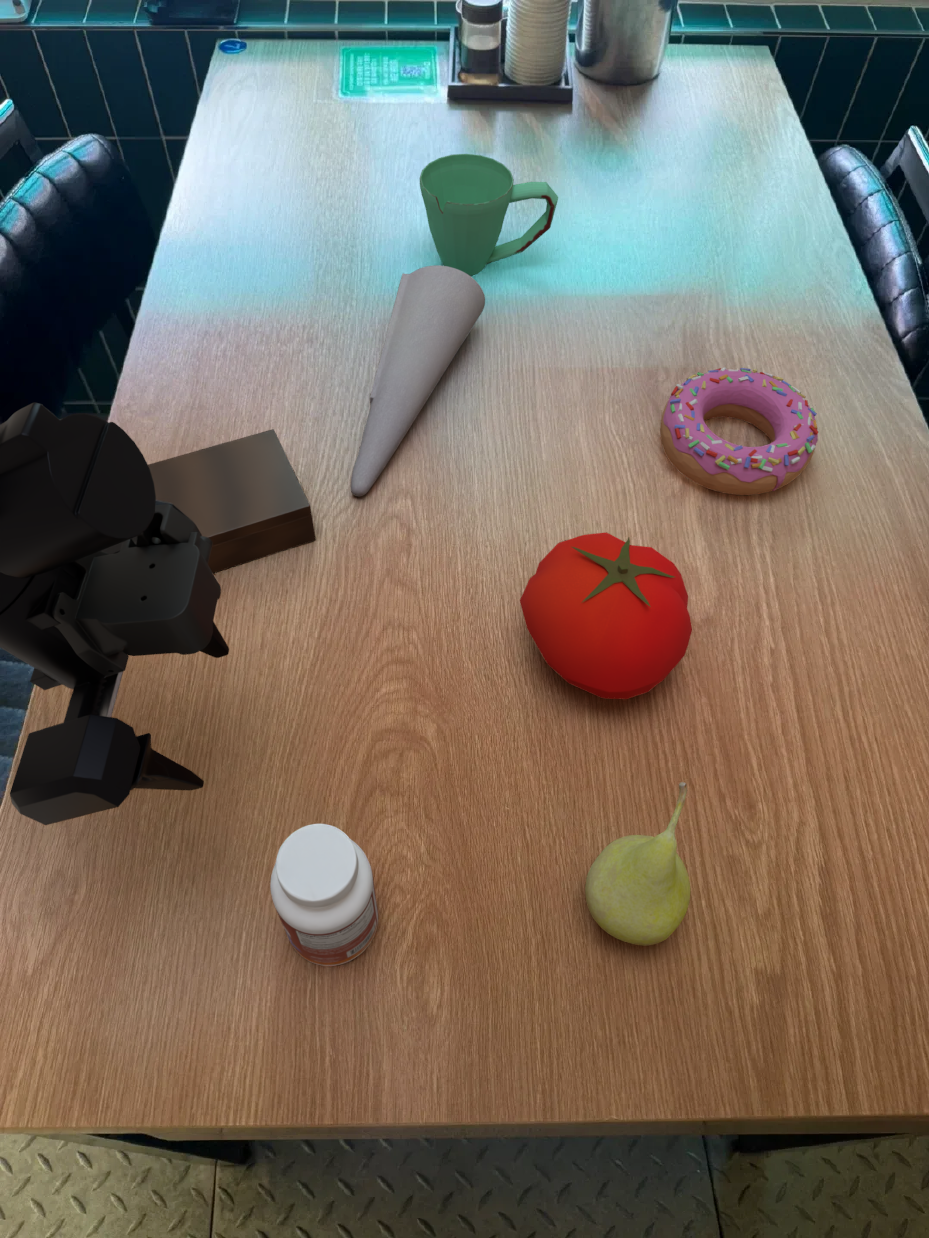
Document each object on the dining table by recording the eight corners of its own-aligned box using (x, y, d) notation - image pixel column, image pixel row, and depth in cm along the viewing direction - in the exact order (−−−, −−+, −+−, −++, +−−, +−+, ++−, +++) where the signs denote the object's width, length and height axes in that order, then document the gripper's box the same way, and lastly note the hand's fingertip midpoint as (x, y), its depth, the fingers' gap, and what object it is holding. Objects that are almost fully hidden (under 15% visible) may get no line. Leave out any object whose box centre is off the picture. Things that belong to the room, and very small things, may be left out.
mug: (420, 289, 104) (419, 204, 95) (421, 237, 109) (420, 152, 101) (553, 291, 104) (563, 206, 96) (547, 239, 110) (556, 155, 102)
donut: (634, 411, 93) (644, 371, 89) (767, 389, 95) (782, 349, 91) (690, 518, 85) (703, 479, 81) (834, 491, 87) (853, 452, 83)
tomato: (709, 676, 75) (744, 597, 67) (584, 748, 71) (605, 674, 63) (608, 564, 82) (628, 479, 73) (489, 625, 78) (495, 542, 69)
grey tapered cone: (440, 481, 81) (487, 271, 93) (341, 466, 81) (400, 259, 94) (440, 531, 88) (483, 329, 100) (349, 517, 88) (403, 318, 100)
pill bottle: (292, 875, 65) (269, 808, 56) (381, 877, 65) (373, 810, 56) (281, 968, 62) (254, 912, 53) (376, 969, 62) (365, 914, 53)
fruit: (565, 932, 63) (589, 867, 54) (602, 835, 67) (630, 758, 58) (661, 974, 62) (703, 915, 52) (693, 872, 66) (737, 800, 56)
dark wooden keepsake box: (180, 583, 80) (168, 549, 76) (151, 502, 85) (138, 466, 81) (316, 540, 83) (310, 505, 79) (280, 464, 88) (273, 428, 84)
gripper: (68, 705, 38) (300, 839, 49) (161, 391, 49) (334, 560, 60) (-109, 761, 42) (141, 873, 54) (12, 462, 53) (199, 607, 64)
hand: (211, 717), depth 58 cm, fingers open, 9 cm apart
